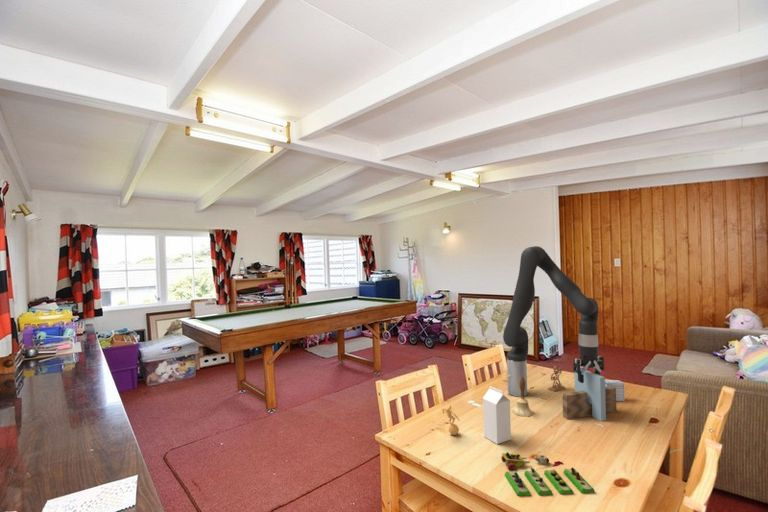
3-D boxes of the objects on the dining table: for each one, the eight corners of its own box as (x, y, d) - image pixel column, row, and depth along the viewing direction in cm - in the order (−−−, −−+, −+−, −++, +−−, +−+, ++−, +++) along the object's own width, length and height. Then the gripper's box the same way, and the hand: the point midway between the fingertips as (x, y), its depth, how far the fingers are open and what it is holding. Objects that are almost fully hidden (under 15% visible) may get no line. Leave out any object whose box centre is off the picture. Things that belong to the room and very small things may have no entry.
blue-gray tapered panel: (606, 420, 154) (604, 377, 154) (601, 421, 153) (600, 377, 153) (579, 407, 167) (578, 367, 167) (575, 407, 167) (574, 368, 167)
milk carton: (497, 444, 137) (495, 393, 137) (483, 436, 143) (482, 387, 143) (511, 439, 140) (509, 389, 140) (497, 432, 146) (496, 384, 146)
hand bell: (537, 414, 161) (536, 378, 161) (521, 418, 158) (520, 380, 158) (523, 407, 169) (522, 372, 169) (508, 410, 166) (507, 375, 166)
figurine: (465, 436, 143) (464, 405, 143) (455, 441, 139) (454, 410, 139) (449, 429, 150) (448, 399, 150) (439, 433, 146) (438, 403, 146)
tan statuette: (554, 392, 187) (553, 368, 187) (547, 389, 190) (547, 366, 190) (565, 388, 191) (564, 365, 191) (558, 386, 194) (558, 363, 194)
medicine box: (619, 398, 177) (619, 379, 177) (624, 401, 172) (624, 383, 172) (602, 397, 178) (601, 379, 178) (607, 401, 173) (606, 383, 173)
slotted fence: (567, 419, 156) (566, 395, 156) (563, 416, 158) (562, 393, 158) (616, 410, 163) (615, 388, 163) (611, 408, 165) (610, 386, 165)
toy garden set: (517, 498, 107) (517, 482, 107) (495, 461, 126) (494, 448, 126) (594, 494, 108) (594, 479, 108) (561, 458, 127) (560, 445, 127)
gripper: (581, 347, 155) (582, 386, 155) (608, 344, 159) (609, 382, 159) (568, 343, 162) (569, 380, 162) (594, 340, 166) (595, 376, 166)
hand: (589, 381), depth 160 cm, fingers open, 8 cm apart
